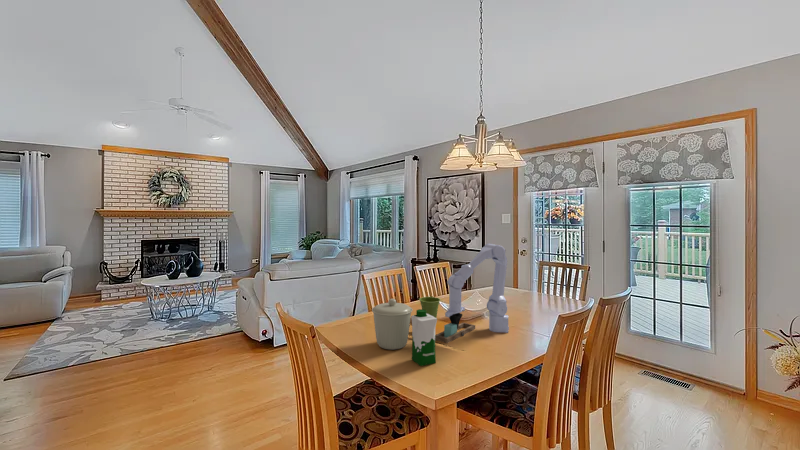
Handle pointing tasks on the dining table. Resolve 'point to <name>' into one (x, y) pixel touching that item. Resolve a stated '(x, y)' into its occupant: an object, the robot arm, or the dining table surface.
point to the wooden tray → (461, 333)
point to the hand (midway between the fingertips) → (455, 328)
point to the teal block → (450, 329)
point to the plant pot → (430, 305)
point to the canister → (392, 324)
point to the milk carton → (423, 338)
